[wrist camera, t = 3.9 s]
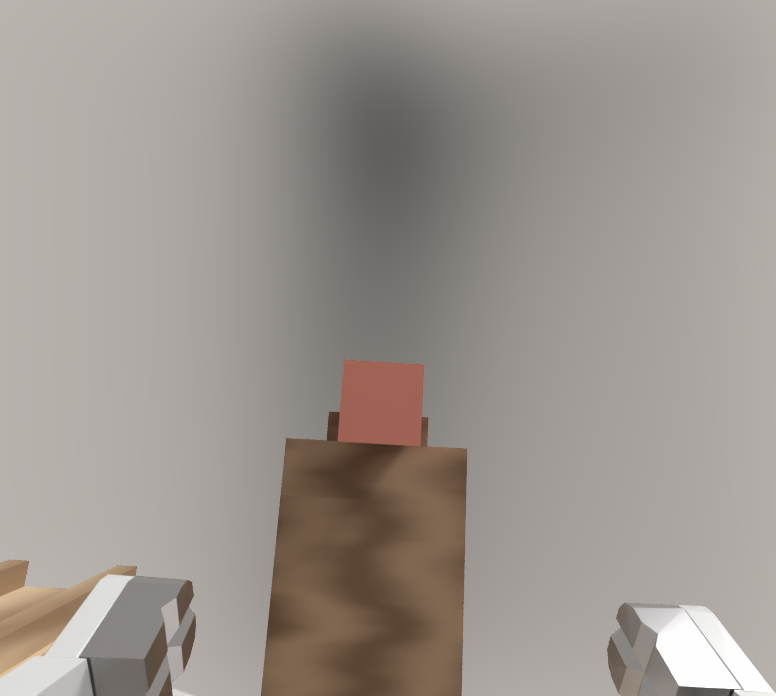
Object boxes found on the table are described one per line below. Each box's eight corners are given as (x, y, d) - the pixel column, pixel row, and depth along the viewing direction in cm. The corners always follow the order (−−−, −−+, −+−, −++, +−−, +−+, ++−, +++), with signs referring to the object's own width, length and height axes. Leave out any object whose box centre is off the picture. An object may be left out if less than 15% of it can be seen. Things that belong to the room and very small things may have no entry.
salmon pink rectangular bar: (420, 446, 18) (423, 364, 19) (337, 441, 18) (344, 359, 19) (395, 444, 38) (397, 404, 38) (355, 441, 38) (358, 402, 38)
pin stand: (227, 1038, 21) (288, 409, 26) (278, 828, 32) (314, 419, 37) (453, 1045, 21) (467, 419, 26) (424, 834, 32) (439, 426, 38)
